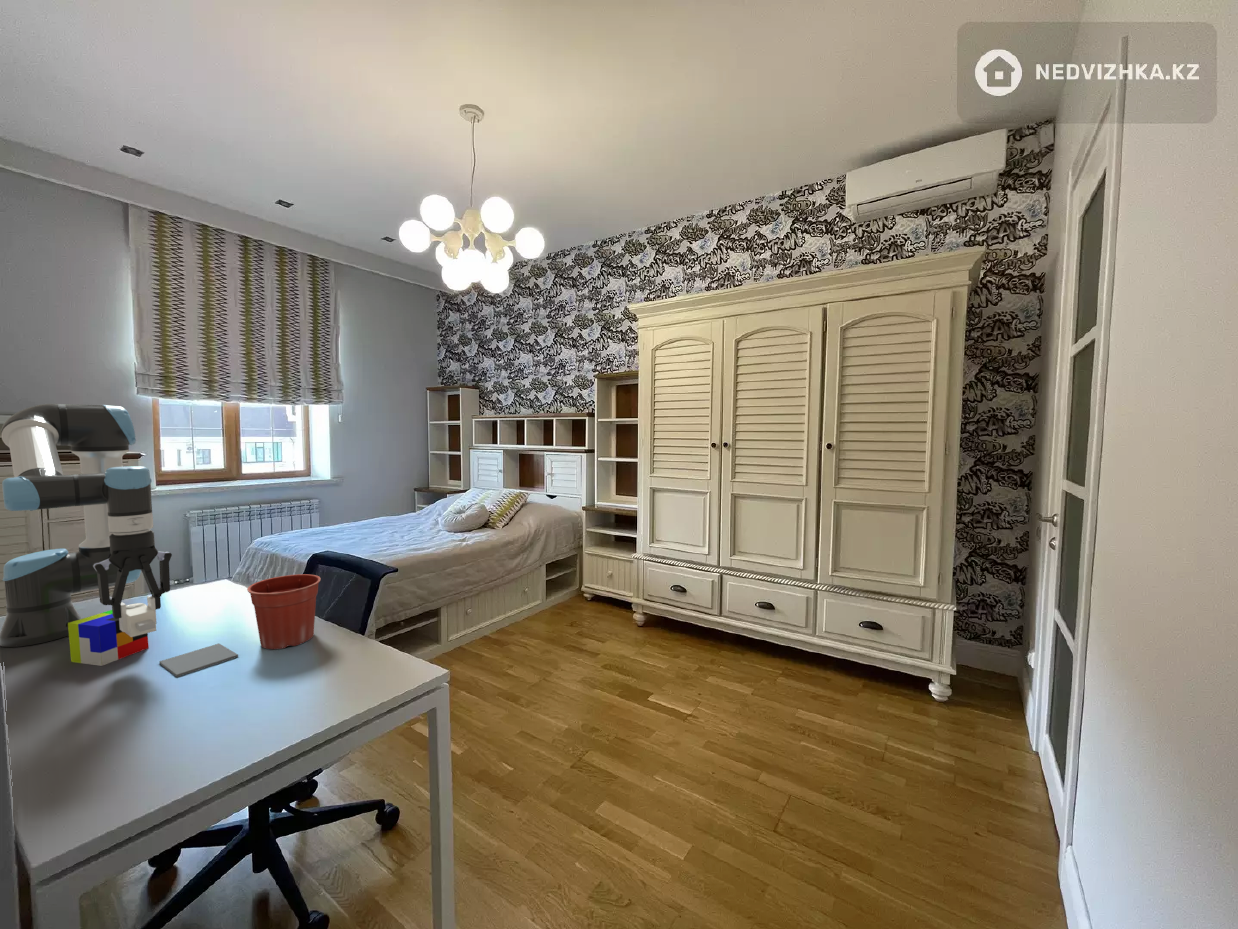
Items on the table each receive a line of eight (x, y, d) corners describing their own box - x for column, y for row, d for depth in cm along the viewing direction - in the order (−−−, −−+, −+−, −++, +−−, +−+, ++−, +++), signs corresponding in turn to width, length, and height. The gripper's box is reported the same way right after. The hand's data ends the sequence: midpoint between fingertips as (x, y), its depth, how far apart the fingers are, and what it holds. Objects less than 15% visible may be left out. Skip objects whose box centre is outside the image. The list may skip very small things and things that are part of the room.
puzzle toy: (101, 666, 119) (98, 626, 118) (71, 662, 121) (67, 623, 120) (148, 648, 129) (146, 611, 128) (119, 644, 131) (116, 608, 130)
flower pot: (326, 643, 132) (323, 585, 131) (250, 660, 122) (247, 597, 121) (319, 623, 145) (317, 570, 144) (250, 637, 135) (247, 581, 134)
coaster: (159, 663, 120) (159, 661, 120) (219, 645, 130) (219, 643, 130) (177, 677, 114) (176, 674, 114) (238, 656, 124) (238, 654, 124)
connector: (118, 627, 119) (117, 607, 119) (142, 621, 123) (141, 601, 122) (135, 640, 112) (134, 619, 111) (160, 634, 115) (159, 613, 115)
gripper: (82, 540, 106) (90, 644, 108) (185, 527, 121) (190, 618, 123) (73, 536, 110) (81, 635, 112) (174, 523, 125) (179, 611, 127)
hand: (138, 626), depth 117 cm, fingers closed on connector, 4 cm apart
